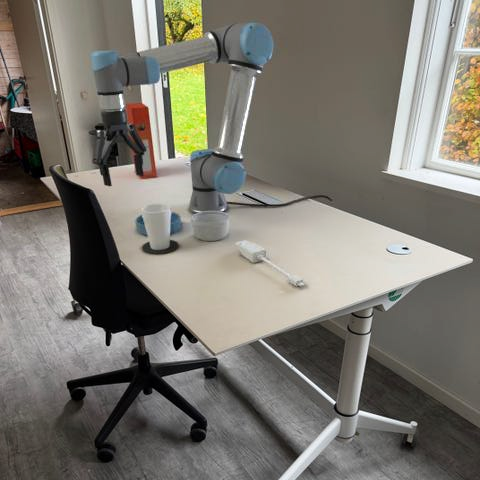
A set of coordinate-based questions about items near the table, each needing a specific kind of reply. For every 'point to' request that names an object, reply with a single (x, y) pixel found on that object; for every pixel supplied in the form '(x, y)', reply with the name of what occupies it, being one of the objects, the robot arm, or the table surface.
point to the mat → (149, 250)
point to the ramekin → (210, 225)
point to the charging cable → (259, 254)
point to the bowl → (174, 224)
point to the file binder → (143, 136)
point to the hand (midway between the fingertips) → (124, 180)
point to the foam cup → (157, 224)
